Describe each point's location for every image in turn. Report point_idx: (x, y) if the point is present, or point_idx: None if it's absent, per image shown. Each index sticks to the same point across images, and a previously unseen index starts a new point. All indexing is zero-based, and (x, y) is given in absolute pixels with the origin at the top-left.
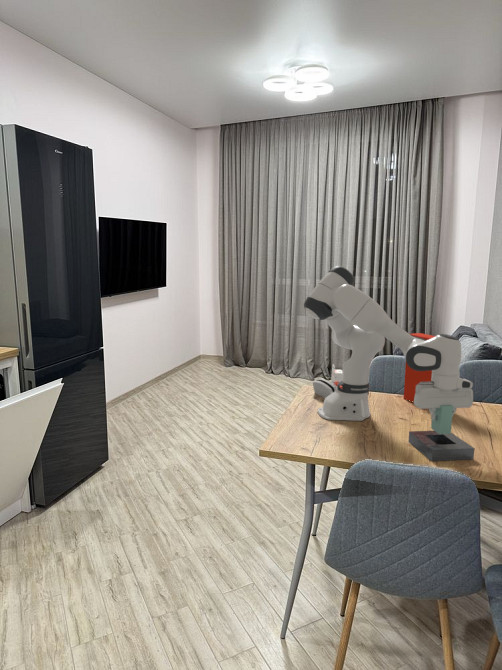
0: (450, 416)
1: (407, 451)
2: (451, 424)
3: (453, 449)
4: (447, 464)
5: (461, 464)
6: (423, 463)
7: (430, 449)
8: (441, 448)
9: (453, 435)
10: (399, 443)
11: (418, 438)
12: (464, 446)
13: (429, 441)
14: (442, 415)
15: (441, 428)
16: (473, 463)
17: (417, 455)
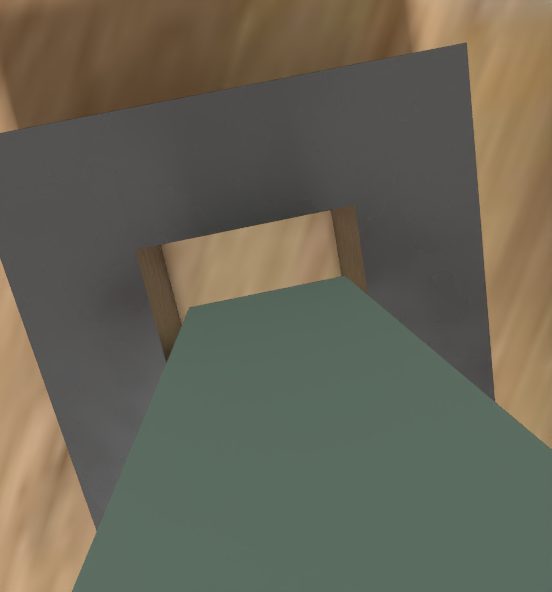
0: (183, 442)
1: (535, 270)
2: (169, 357)
3: (219, 92)
4: (298, 16)
5: (169, 26)
6: (501, 22)
7: (463, 94)
8: (351, 97)
9: (101, 481)
10: (534, 418)
11: (487, 357)
12: (67, 185)
13: (407, 290)
14: (453, 402)
15: (346, 300)
16: (49, 59)
17: (486, 195)
